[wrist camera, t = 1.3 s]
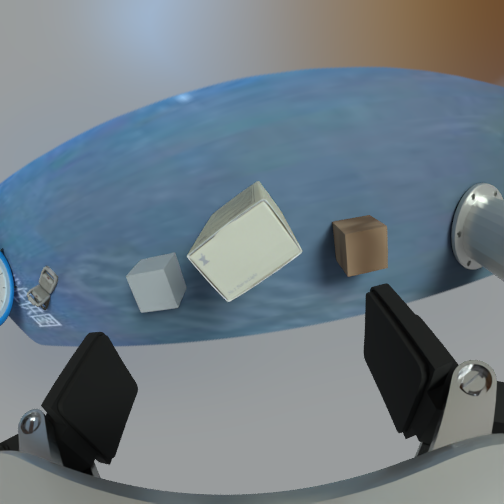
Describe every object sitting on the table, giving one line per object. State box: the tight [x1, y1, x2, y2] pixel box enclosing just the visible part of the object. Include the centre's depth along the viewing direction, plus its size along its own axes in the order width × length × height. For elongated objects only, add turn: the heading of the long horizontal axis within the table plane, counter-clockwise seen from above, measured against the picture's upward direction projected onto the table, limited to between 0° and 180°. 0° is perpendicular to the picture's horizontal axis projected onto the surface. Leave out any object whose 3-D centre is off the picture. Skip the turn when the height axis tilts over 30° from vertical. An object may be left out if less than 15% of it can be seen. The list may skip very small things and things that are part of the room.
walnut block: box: [332, 215, 388, 277], centre depth 27 cm, size 4×4×4 cm
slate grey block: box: [126, 253, 187, 313], centre depth 29 cm, size 4×4×4 cm
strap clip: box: [27, 266, 58, 310], centre depth 30 cm, size 8×3×4 cm, turn 137°
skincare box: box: [187, 182, 302, 302], centre depth 22 cm, size 6×4×12 cm
